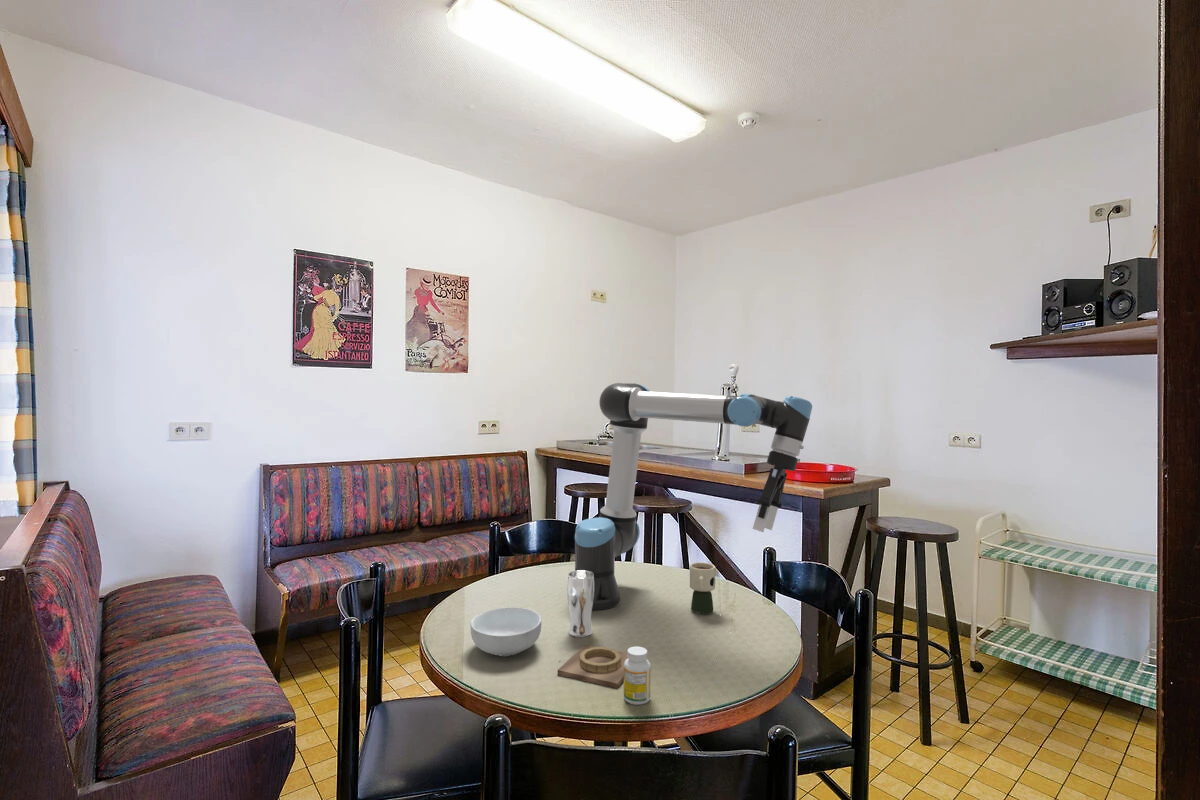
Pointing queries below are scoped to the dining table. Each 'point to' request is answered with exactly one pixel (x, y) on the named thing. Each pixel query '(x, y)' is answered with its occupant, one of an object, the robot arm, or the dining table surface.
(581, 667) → the collar stand
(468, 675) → the dining table surface
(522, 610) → the cereal bowl
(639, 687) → the supplement bottle
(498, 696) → the dining table surface
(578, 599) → the silver metal tumbler
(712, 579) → the character mug
